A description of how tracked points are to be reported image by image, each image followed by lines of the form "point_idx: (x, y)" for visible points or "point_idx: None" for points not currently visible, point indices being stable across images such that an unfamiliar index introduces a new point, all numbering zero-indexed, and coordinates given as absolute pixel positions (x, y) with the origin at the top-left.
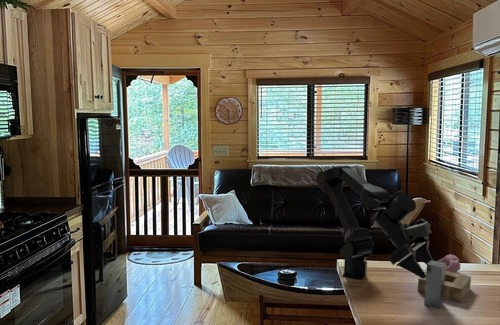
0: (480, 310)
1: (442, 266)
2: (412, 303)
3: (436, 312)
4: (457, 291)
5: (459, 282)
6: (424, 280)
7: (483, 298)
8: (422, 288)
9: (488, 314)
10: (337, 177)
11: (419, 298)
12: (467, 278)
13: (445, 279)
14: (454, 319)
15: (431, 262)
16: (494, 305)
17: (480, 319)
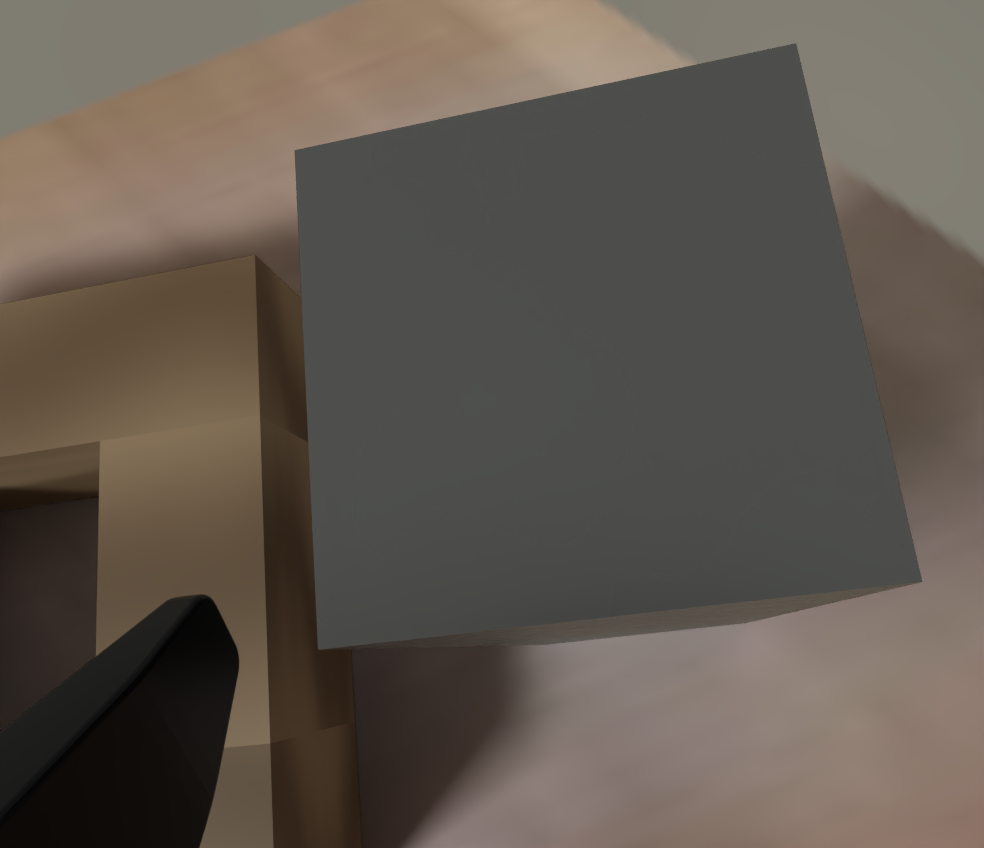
0: (384, 117)
1: (700, 73)
2: (832, 775)
3: None
4: (280, 322)
5: (29, 375)
6: (277, 837)
7: (61, 215)
8: (338, 831)
9: (423, 33)
10: None
11: (582, 766)
12: None
13: None
14: (839, 192)
15: (585, 520)
16: (167, 83)
17: (605, 31)
